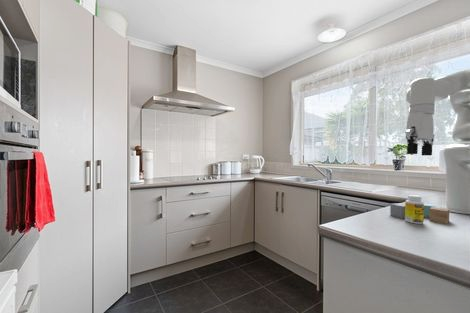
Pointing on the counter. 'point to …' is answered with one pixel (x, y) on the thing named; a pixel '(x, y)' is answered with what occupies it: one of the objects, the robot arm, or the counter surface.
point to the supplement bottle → (414, 209)
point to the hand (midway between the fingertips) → (419, 154)
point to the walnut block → (439, 215)
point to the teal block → (427, 209)
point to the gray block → (397, 210)
